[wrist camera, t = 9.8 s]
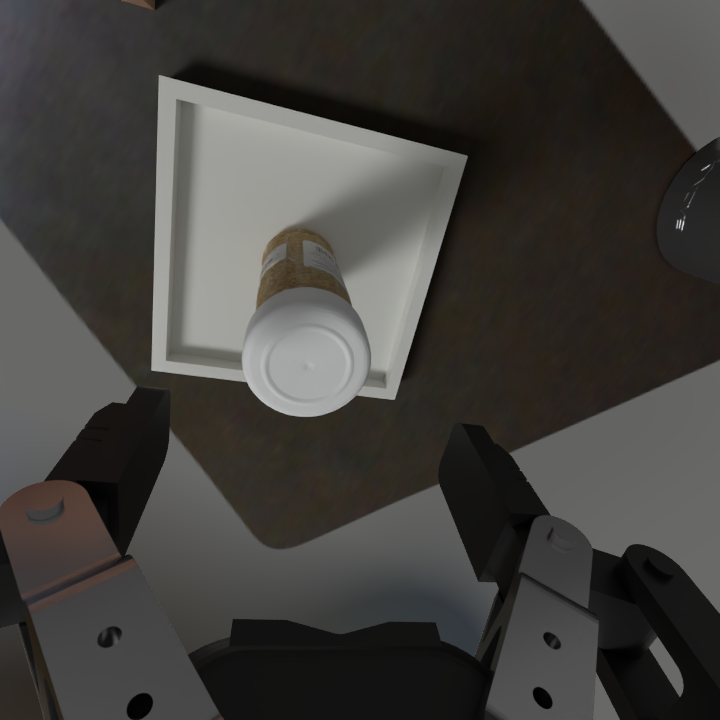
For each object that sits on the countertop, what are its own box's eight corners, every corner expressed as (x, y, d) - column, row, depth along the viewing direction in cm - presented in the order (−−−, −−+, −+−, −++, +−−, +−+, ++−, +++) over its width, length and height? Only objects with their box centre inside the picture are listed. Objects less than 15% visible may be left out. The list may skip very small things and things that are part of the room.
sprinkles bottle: (249, 240, 26) (216, 330, 14) (323, 215, 26) (351, 285, 14) (278, 309, 28) (270, 438, 16) (346, 287, 28) (388, 398, 16)
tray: (457, 154, 26) (467, 155, 24) (389, 386, 33) (394, 399, 31) (168, 79, 22) (159, 75, 21) (159, 357, 29) (151, 370, 28)
